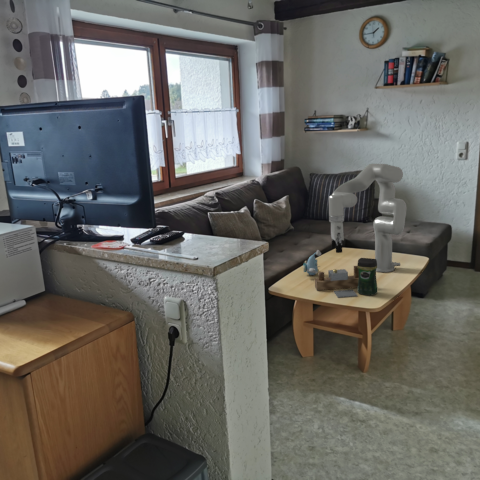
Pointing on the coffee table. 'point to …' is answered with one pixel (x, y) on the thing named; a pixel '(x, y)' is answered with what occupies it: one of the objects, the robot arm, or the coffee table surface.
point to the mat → (345, 293)
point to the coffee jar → (367, 276)
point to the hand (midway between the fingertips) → (336, 250)
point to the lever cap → (338, 274)
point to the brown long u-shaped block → (336, 282)
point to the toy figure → (311, 264)
